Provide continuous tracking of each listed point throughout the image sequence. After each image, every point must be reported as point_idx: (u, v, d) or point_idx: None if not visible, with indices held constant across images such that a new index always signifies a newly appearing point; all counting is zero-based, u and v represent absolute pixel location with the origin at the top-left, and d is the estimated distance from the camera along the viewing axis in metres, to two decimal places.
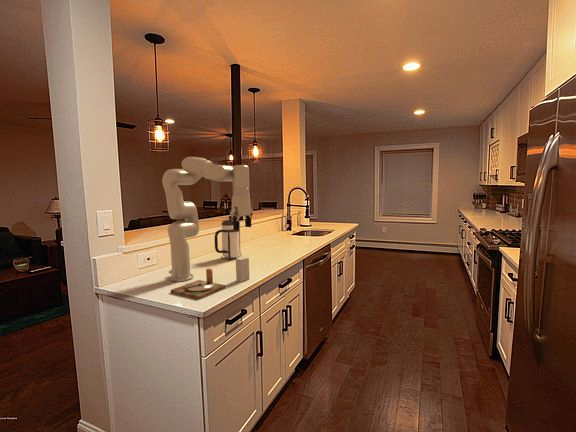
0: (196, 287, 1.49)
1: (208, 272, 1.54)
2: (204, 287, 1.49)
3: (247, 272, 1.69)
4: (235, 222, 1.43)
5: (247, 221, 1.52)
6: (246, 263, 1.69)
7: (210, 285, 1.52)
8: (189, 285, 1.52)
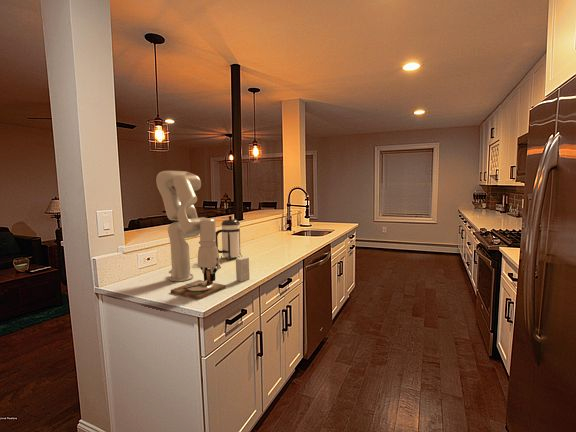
0: (196, 287, 1.49)
1: (208, 272, 1.54)
2: (204, 287, 1.49)
3: (247, 272, 1.69)
4: (214, 274, 1.54)
5: None
6: (246, 263, 1.69)
7: (210, 285, 1.52)
8: (189, 285, 1.52)
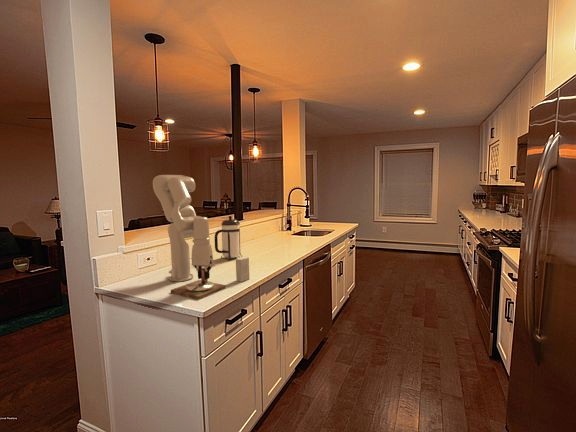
0: (201, 287, 1.49)
1: None
2: (209, 285, 1.52)
3: (247, 272, 1.69)
4: (208, 272, 1.56)
5: (200, 273, 1.57)
6: (246, 263, 1.69)
7: (210, 283, 1.55)
8: (190, 287, 1.49)
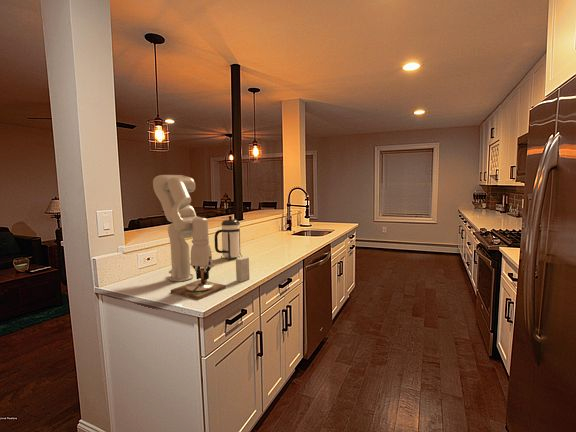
0: (202, 287, 1.50)
1: None
2: (209, 285, 1.52)
3: (247, 272, 1.69)
4: (208, 272, 1.56)
5: (199, 273, 1.57)
6: (246, 263, 1.69)
7: (210, 283, 1.56)
8: (190, 287, 1.49)
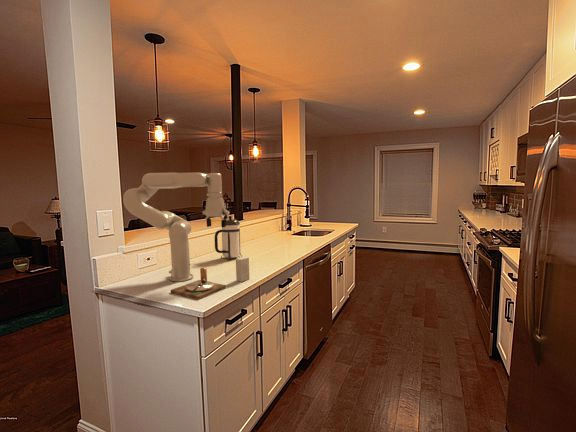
0: (202, 287, 1.50)
1: (204, 271, 1.56)
2: (209, 285, 1.52)
3: (247, 272, 1.69)
4: (225, 220, 1.71)
5: (209, 221, 1.75)
6: (246, 263, 1.69)
7: (210, 283, 1.56)
8: (190, 287, 1.49)
